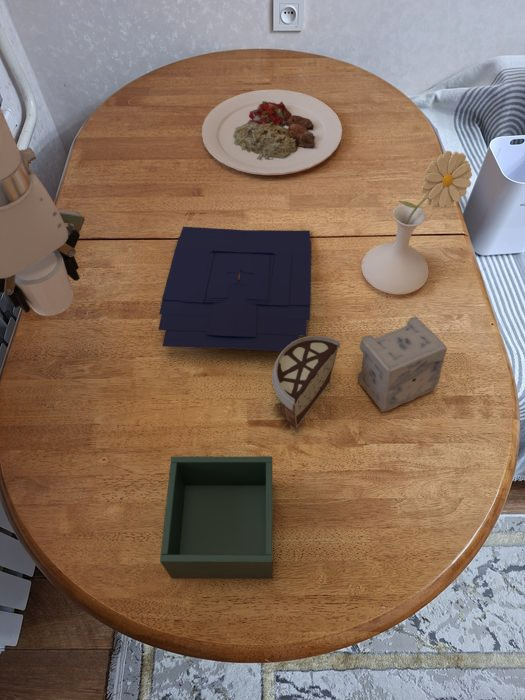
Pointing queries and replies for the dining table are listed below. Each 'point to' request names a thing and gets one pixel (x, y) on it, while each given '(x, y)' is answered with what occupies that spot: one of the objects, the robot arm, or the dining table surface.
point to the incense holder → (401, 364)
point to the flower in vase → (398, 257)
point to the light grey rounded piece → (46, 285)
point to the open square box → (219, 518)
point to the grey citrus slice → (303, 375)
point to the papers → (237, 289)
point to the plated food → (271, 132)
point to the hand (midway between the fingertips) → (47, 289)
